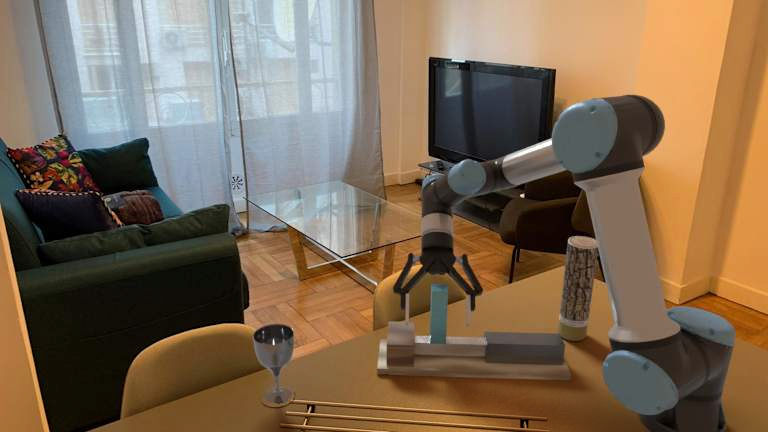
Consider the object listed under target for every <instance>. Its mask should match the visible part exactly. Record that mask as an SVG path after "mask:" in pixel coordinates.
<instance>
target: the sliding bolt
mask: <svg viewBox="0 0 768 432" xmlns="http://www.w3.org/2000/svg"><path fill="white" fill-rule="evenodd" d="M430 286H431V287H430V290H431V291H430V313H429V314H430V315H429V316H430V317H429V318H430V319H429V335H414V354H421V355H454V356H486V340H485V338H484V337H473V336H472V337H471V336H447V327H448V325H447V323H448V301H449V287H448V284H438V283H437V284H436V283H434V284H433V283H430Z"/></svg>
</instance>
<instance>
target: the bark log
mask: <svg viewBox="0 0 768 432" xmlns="http://www.w3.org/2000/svg"><path fill="white" fill-rule="evenodd" d="M598 255H599V250H598V245H597V241H596V238H592V237H590V236H585V235H584V236H582V235H575V236H571V237H569V238H568V239H567V248H566V256H565V263H564V264H565V266H564V271H563V272H564V274H563V282H562V289H561V300H560V308H559V316H558V317H559V318H558V327H557V334H560V335H561V337H562V339H565V340H567V341H571V342H579V341H583V340H584V339H586V337H587V333H588V328H589V327H588V325H589V319H590V311H591V303H592V299H593V298H592V296H593V289H594V288H593V287H594V282H595V275H596V268H597V260H598Z"/></svg>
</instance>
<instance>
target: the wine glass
mask: <svg viewBox="0 0 768 432" xmlns="http://www.w3.org/2000/svg"><path fill="white" fill-rule="evenodd" d="M252 339H253V346H254V351H255V356H256V357H257V360H258V362H259V363H260V365H261V366H263V367H264V368H265V369H266V370H269V371H270V373H271V374H272V376H273V378H274V379H273V380H274V383H275V385H274V387H275V388H273V387H271V388H272V389H271V390H268V389H267V390H268V391H267V392H266V393H265V395H264V396H265V397H264V398H265V399H266V400H267V401H268V402H270V403H271V402H272V403H273V402H274V403H277V404H280V403H284V402H287V401H288V398H290V397H291V395H292V392H291V391H290V389H289V388H290V387H288V388H284V387H285V386H284V387H279V386H280V374H281V372H282V370H283V369H284V368H285V367H286V366H287V365H288V364H289V362H290V361H291V359H292V358H293V354H294V351H295V350H294V347H295V332H294V330H293V328H292V327H291V326H289V325H287V324H283V323H270V324H266V325H263V326H260V327H258V328H257V329H256V330H255V331H254V332H253V336H252ZM290 399H291V398H290Z"/></svg>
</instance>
